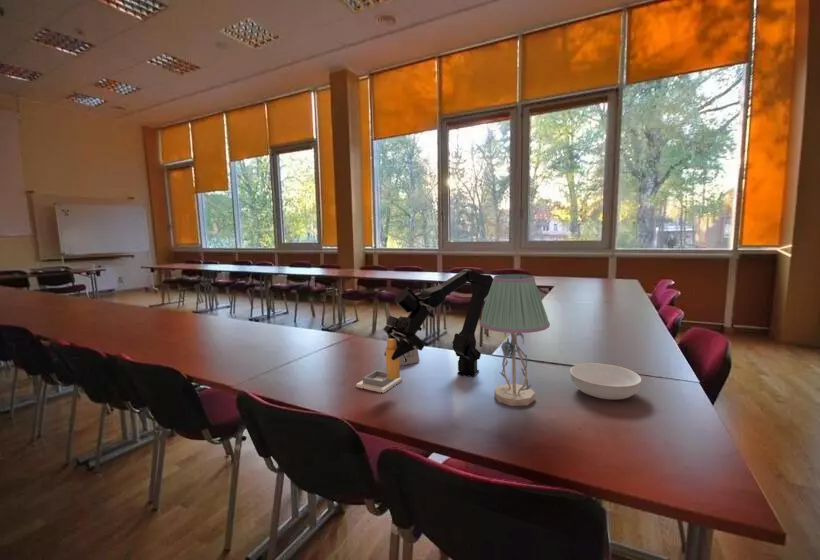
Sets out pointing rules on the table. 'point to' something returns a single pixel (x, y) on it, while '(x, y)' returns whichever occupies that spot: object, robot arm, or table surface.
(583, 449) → the table surface
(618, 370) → the serving bowl
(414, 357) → the electrical switch
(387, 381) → the plate
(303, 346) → the table surface
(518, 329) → the table lamp
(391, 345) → the orange bottle
